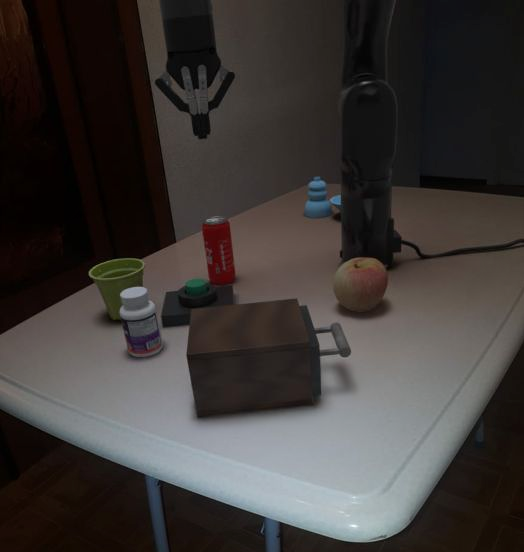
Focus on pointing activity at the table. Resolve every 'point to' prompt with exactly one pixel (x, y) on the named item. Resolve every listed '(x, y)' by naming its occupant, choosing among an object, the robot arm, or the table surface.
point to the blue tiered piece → (320, 200)
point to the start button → (196, 287)
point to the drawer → (316, 352)
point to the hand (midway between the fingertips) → (203, 138)
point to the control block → (193, 303)
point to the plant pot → (117, 281)
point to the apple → (360, 283)
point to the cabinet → (249, 357)
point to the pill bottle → (140, 322)
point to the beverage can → (218, 249)
